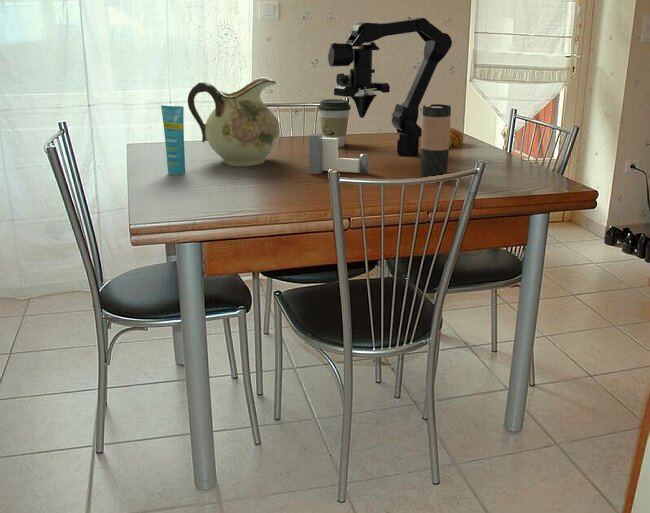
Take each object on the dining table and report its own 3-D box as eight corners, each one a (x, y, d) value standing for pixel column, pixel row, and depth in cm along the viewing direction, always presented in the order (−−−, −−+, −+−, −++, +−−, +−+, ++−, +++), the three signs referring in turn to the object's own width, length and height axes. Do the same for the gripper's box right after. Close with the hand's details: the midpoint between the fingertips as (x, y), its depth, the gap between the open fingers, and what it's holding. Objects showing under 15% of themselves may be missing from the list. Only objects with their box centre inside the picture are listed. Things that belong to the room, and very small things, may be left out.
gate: (359, 171, 209) (360, 139, 206) (358, 172, 207) (358, 140, 204) (313, 168, 212) (313, 136, 209) (311, 169, 211) (311, 138, 208)
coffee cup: (311, 146, 247) (310, 101, 242) (328, 141, 256) (328, 97, 251) (339, 149, 241) (340, 103, 237) (356, 144, 251) (357, 100, 246)
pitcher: (295, 161, 223) (293, 78, 214) (237, 174, 206) (232, 85, 198) (247, 152, 237) (243, 74, 229) (189, 164, 221) (182, 80, 213)
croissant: (418, 154, 245) (418, 131, 241) (423, 140, 258) (423, 118, 255) (461, 155, 242) (462, 132, 238) (464, 140, 255) (465, 118, 252)
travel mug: (446, 182, 197) (450, 108, 190) (418, 181, 199) (421, 107, 192) (447, 176, 204) (451, 104, 198) (420, 175, 206) (423, 103, 199)
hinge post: (368, 172, 209) (368, 153, 207) (368, 174, 206) (368, 155, 204) (360, 172, 209) (360, 153, 207) (359, 174, 206) (359, 155, 205)
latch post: (322, 172, 209) (322, 134, 206) (319, 174, 206) (319, 135, 203) (312, 171, 210) (312, 133, 206) (309, 173, 207) (309, 135, 204)
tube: (161, 174, 207) (156, 106, 201) (169, 170, 211) (164, 103, 205) (184, 176, 205) (180, 107, 198) (192, 172, 209) (188, 105, 203)
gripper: (366, 62, 231) (365, 112, 237) (322, 65, 220) (322, 117, 225) (391, 64, 223) (390, 115, 229) (346, 68, 212) (346, 121, 217)
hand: (361, 117), depth 225 cm, fingers closed
